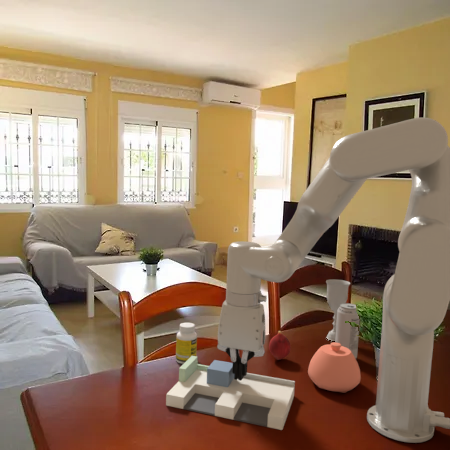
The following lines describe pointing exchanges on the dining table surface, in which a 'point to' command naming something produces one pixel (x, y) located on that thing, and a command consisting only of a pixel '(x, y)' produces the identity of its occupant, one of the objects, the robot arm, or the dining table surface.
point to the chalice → (336, 300)
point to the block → (220, 373)
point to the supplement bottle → (186, 342)
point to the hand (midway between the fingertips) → (239, 377)
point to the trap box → (233, 396)
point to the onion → (279, 346)
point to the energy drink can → (347, 327)
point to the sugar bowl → (334, 368)
